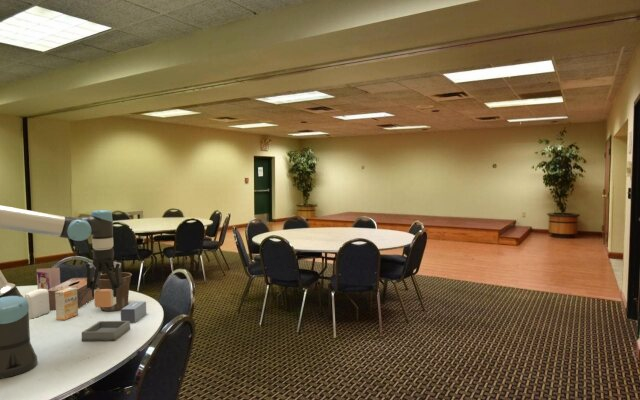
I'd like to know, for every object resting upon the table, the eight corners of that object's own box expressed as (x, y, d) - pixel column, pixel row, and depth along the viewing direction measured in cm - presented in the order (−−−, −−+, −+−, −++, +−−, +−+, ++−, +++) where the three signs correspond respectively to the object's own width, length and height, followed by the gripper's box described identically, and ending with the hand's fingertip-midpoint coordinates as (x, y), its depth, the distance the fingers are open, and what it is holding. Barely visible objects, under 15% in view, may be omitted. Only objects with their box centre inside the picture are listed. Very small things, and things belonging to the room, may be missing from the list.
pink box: (36, 296, 230) (34, 269, 229) (49, 292, 237) (48, 266, 236) (50, 298, 226) (48, 270, 225) (63, 294, 232) (62, 267, 232)
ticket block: (134, 322, 185) (134, 309, 185) (121, 322, 185) (120, 309, 185) (146, 313, 197) (146, 301, 197) (133, 314, 197) (133, 301, 197)
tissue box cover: (73, 296, 230) (72, 278, 230) (100, 295, 231) (99, 277, 231) (46, 311, 204) (45, 290, 204) (77, 309, 206) (76, 289, 205)
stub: (110, 307, 168) (109, 292, 168) (95, 307, 168) (94, 292, 168) (116, 303, 173) (115, 288, 173) (101, 303, 173) (101, 288, 173)
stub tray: (114, 340, 165) (114, 332, 164) (81, 341, 165) (81, 332, 165) (130, 328, 178) (129, 320, 177) (99, 329, 178) (99, 321, 178)
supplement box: (65, 320, 189) (63, 292, 188) (55, 320, 190) (54, 291, 189) (78, 314, 197) (77, 287, 197) (70, 314, 198) (68, 287, 197)
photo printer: (30, 319, 191) (29, 292, 191) (23, 318, 193) (22, 292, 192) (51, 312, 201) (50, 287, 201) (44, 311, 203) (43, 286, 202)
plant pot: (130, 300, 219) (129, 270, 218) (135, 309, 205) (134, 276, 204) (95, 306, 210) (93, 274, 209) (97, 315, 196) (96, 281, 195)
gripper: (130, 246, 173) (132, 301, 174) (85, 247, 173) (87, 302, 174) (122, 249, 165) (124, 307, 167) (74, 250, 166) (76, 307, 167)
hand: (105, 304), depth 171 cm, fingers closed on stub, 6 cm apart
